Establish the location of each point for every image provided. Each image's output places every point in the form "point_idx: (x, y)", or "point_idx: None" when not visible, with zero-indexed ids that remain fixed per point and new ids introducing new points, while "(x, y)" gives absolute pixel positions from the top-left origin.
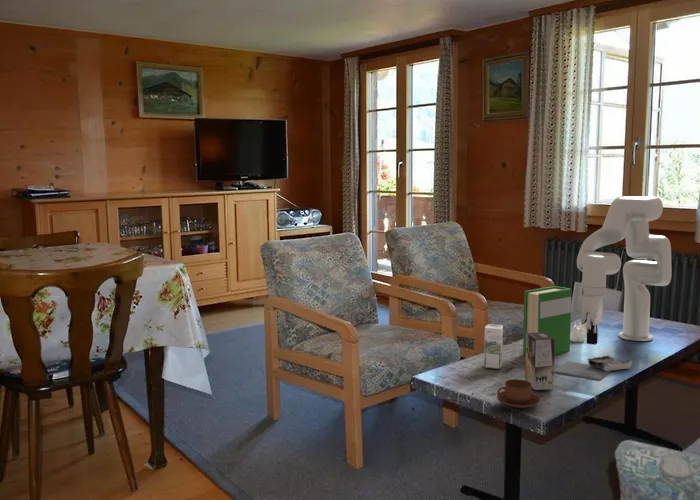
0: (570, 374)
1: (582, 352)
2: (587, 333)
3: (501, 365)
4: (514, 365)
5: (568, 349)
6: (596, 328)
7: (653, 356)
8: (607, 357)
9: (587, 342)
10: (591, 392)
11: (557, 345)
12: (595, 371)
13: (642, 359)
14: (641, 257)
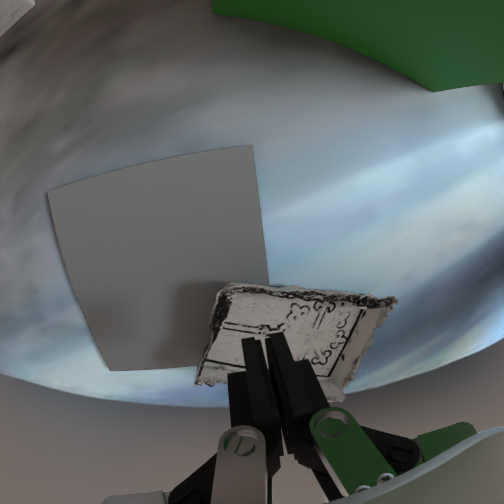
0: (67, 266)
1: (447, 144)
2: (253, 411)
3: (11, 22)
4: (49, 25)
5: (432, 87)
6: (316, 484)
7: (474, 335)
8: (376, 304)
9: (243, 347)
10: (23, 370)
11: (382, 37)
12: (179, 329)
13: (447, 336)
14: None
